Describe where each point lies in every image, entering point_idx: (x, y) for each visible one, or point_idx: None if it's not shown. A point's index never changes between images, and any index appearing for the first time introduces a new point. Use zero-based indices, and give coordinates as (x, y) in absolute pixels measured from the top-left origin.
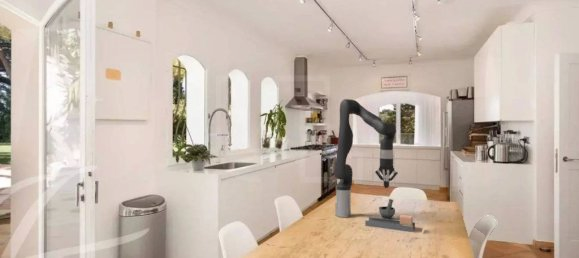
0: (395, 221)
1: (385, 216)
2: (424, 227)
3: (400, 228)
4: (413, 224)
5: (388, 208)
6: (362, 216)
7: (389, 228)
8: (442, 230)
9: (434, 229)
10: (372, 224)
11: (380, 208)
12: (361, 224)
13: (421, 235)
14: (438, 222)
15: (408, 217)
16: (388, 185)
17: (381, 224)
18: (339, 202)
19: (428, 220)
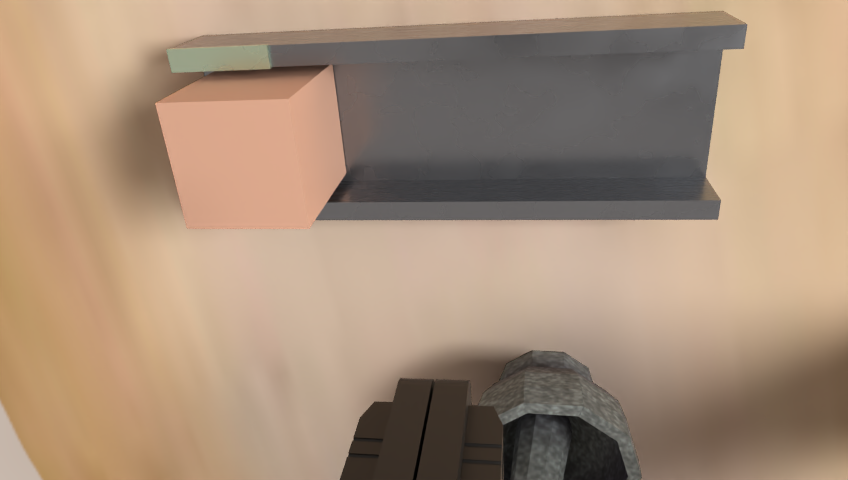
0: (400, 198)
1: (550, 368)
2: (189, 280)
3: (310, 37)
4: None
5: (534, 477)
6: (803, 392)
7: (431, 27)
8: (48, 259)
9: (106, 259)
10: (638, 22)
11: (623, 472)
12: (783, 106)
13: (121, 22)
14: (153, 445)
15: (193, 125)
16: (359, 432)
17: (523, 30)
18: None
19: (229, 468)
